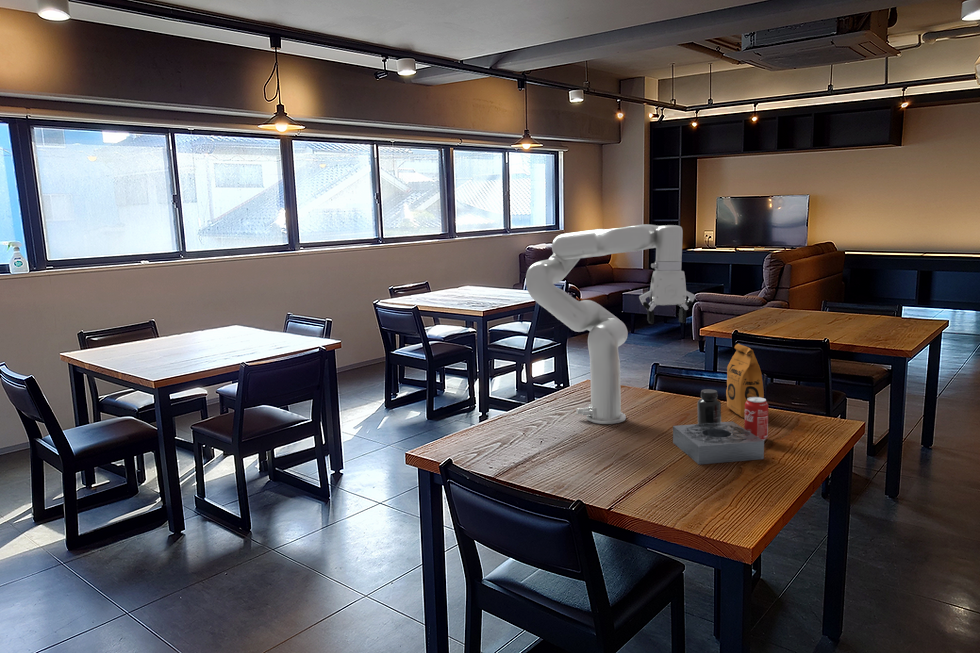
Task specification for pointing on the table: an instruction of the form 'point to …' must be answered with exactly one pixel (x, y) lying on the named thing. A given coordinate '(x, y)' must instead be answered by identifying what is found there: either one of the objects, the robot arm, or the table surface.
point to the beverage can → (756, 417)
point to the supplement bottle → (709, 407)
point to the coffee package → (743, 379)
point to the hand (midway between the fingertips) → (666, 322)
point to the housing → (718, 442)
